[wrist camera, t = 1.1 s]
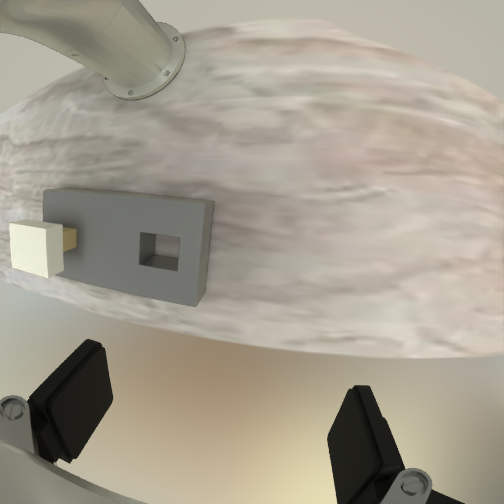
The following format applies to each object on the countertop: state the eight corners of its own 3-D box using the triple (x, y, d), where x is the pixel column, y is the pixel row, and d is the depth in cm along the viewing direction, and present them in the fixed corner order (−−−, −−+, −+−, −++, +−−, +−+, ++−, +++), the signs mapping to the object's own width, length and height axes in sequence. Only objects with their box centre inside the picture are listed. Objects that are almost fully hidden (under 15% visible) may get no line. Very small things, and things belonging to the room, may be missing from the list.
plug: (50, 252, 34) (12, 267, 26) (49, 214, 32) (9, 222, 25) (86, 260, 33) (48, 278, 26) (86, 218, 32) (45, 229, 24)
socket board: (64, 263, 39) (44, 272, 34) (64, 187, 37) (43, 189, 32) (205, 292, 38) (196, 306, 34) (214, 201, 36) (205, 204, 31)
